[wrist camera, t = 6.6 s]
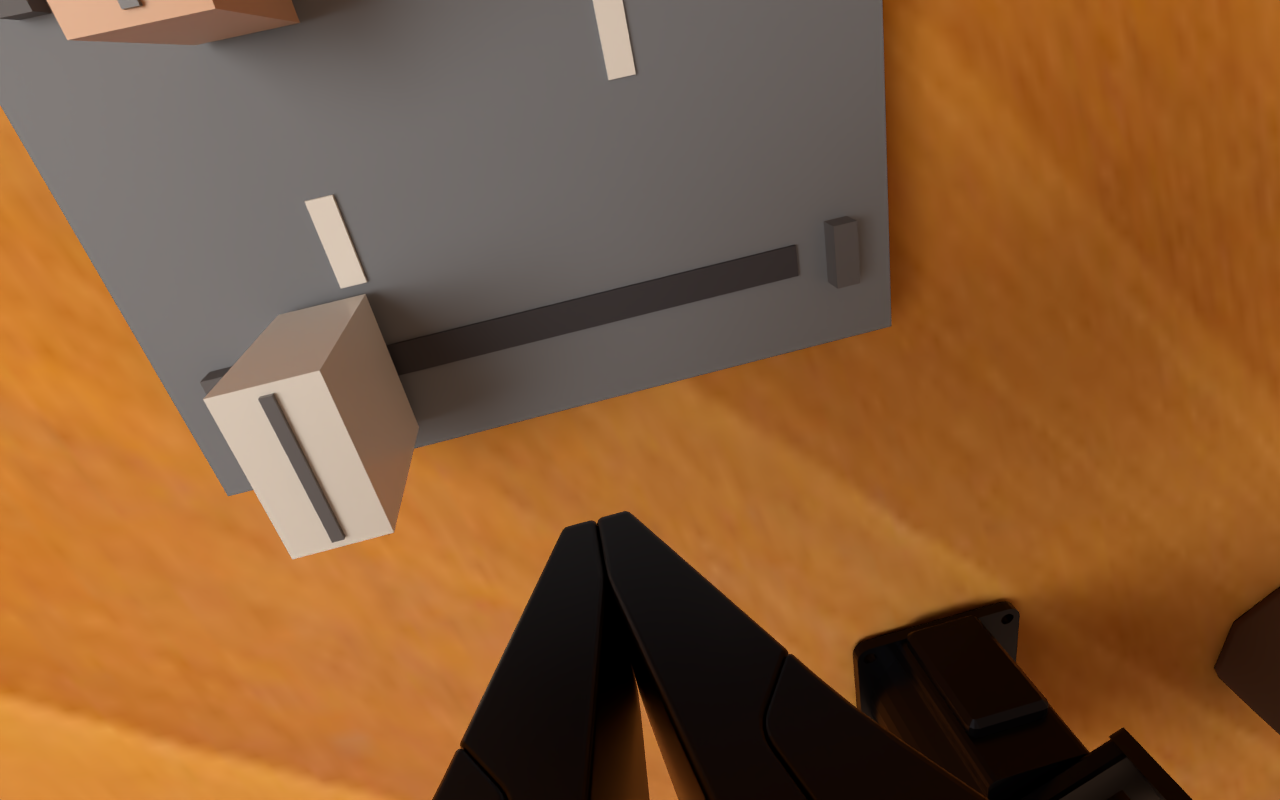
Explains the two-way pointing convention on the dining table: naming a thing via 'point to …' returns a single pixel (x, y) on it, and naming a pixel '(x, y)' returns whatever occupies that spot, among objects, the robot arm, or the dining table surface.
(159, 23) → the fader
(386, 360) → the fader
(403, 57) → the console
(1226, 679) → the beer bottle
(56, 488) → the dining table surface
